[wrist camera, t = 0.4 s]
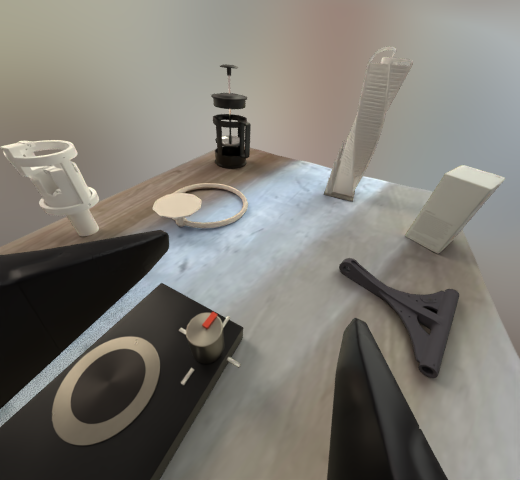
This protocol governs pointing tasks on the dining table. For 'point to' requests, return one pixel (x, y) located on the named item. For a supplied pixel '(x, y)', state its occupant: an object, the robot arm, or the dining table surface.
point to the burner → (106, 391)
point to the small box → (452, 206)
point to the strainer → (56, 181)
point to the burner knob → (205, 337)
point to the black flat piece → (414, 315)
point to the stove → (145, 425)
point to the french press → (230, 152)
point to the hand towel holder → (193, 206)
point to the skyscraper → (367, 124)
